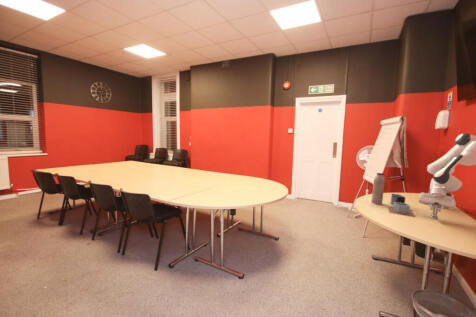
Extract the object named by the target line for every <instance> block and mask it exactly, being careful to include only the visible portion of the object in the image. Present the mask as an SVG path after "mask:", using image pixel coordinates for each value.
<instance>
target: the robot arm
mask: <svg viewBox="0 0 476 317" xmlns="http://www.w3.org/2000/svg"><path fill="white" fill-rule="evenodd" d="M454 142H455V145H454V146H453V147H452V148H451V149H449V150H448V151H447V152H446V154H443V156H441V157H440V158H437V160H435V161H433V162H432V163H430V164H428V165H427V167H426V170H427V172H428V173H429V174H431V175H433V177H432V178H431V180H430V183H429V184H430V185H429V189H428V192H420V193H419V195H418V196H419V197H418V198H419V199H418V202H419V203H420V204H423V205H427V206H429V209H430V211H433V209H434V202H437V203H439V206H438V213H439V212H441V211H442V210H443V209H450V210H455V209H456V205H457V204H456V203H457V202H456V200H455V198H454V197H455V196H454V194H452V193H451V192H458V191H460V190H461V189H462V187H463V182H462V181H461V180H460V179H458V178H457V177H456V176H454V175H452V174H454V173H455V169H456V167H457V165H463V166H475V165H476V136H475V135H473V134H470V133H468V132H462V133H460V134H458V135H457V137H456V138H455V141H454ZM436 206H437V204H436Z"/></svg>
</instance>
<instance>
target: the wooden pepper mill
mask: <svg viewBox="0 0 476 317" xmlns="http://www.w3.org/2000/svg"><path fill="white" fill-rule="evenodd" d="M385 182H386V181H385V177H384V173H381V172H377V173H376V176H375V177H374V179H373V184H372V192H371V193H372V194H371V203H372V204H374V205H380V206H381V205H383V199H384V190H385Z"/></svg>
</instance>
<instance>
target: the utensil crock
mask: <svg viewBox="0 0 476 317" xmlns="http://www.w3.org/2000/svg"><path fill="white" fill-rule="evenodd" d="M392 207H393V210H394V211H396V212H398V213H404V214H407V213H409V210H410V207H411V206H410V204H408V203H401V202H394V206H392Z"/></svg>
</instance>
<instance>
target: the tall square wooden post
mask: <svg viewBox="0 0 476 317" xmlns="http://www.w3.org/2000/svg"><path fill="white" fill-rule="evenodd" d="M436 204H437V206H436ZM438 206H439V203H437V202H434V206H433V210H432V213H431V215H430V218H432V219H434V220H439V215H438V213H439V211H438V209H439V207H438Z"/></svg>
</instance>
